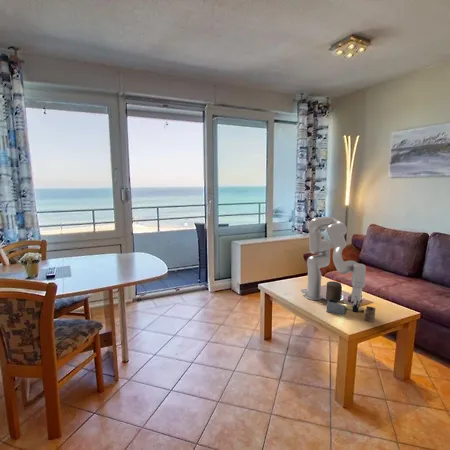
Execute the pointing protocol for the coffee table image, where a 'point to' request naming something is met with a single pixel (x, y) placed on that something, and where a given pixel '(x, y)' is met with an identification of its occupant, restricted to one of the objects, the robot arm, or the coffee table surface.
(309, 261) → the robot arm
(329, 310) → the grey rectangular block
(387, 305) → the coffee table surface
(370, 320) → the socket
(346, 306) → the tube
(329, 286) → the pillar candle
